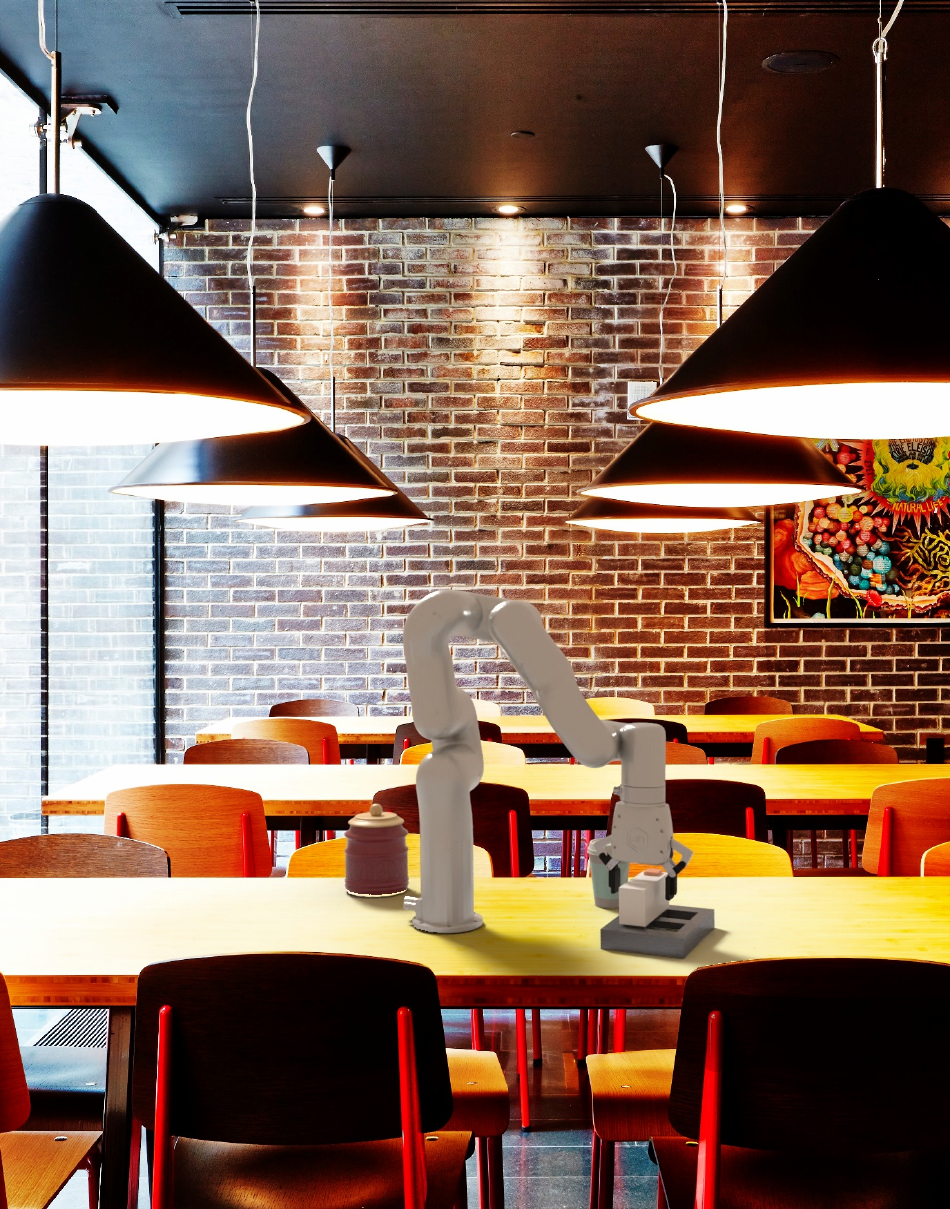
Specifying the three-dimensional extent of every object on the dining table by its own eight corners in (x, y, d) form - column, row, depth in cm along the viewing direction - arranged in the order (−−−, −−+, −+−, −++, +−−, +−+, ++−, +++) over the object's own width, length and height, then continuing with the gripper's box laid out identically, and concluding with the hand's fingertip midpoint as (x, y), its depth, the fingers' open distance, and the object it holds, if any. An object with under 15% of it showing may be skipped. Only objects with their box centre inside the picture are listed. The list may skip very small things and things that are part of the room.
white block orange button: (619, 945, 184) (618, 884, 185) (644, 924, 197) (644, 867, 197) (645, 948, 182) (644, 886, 183) (669, 927, 195) (668, 869, 195)
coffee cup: (631, 911, 206) (630, 846, 207) (585, 909, 208) (584, 845, 208) (634, 900, 215) (633, 838, 215) (590, 898, 216) (589, 836, 217)
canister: (414, 884, 230) (413, 799, 231) (401, 899, 217) (400, 809, 218) (353, 883, 232) (353, 798, 233) (337, 898, 219) (336, 808, 220)
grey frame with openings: (600, 948, 183) (600, 929, 183) (637, 919, 201) (637, 901, 201) (683, 958, 177) (683, 938, 177) (714, 927, 195) (714, 909, 195)
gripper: (588, 794, 191) (587, 894, 190) (686, 802, 183) (686, 906, 183) (602, 788, 197) (601, 885, 197) (698, 796, 190) (697, 896, 189)
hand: (642, 895), depth 190 cm, fingers open, 9 cm apart
